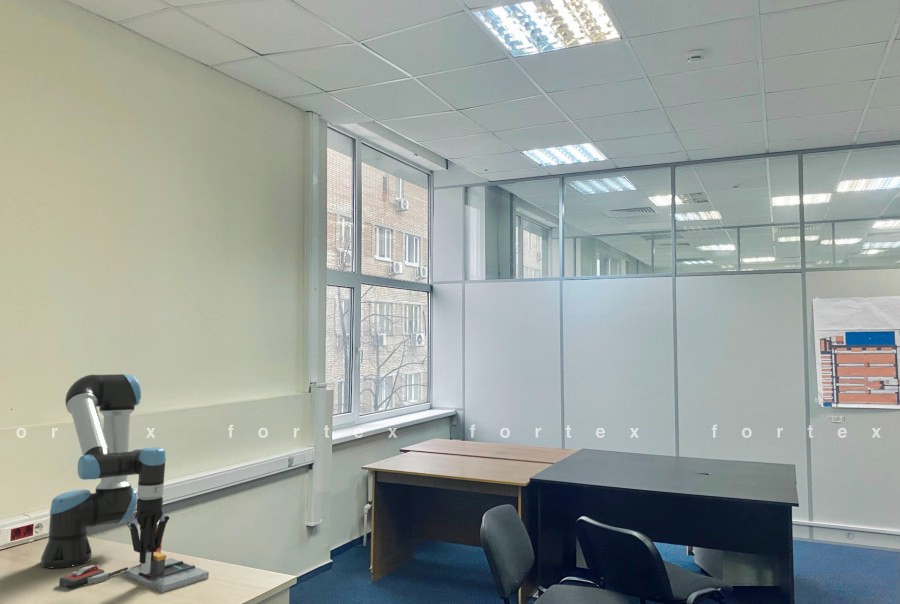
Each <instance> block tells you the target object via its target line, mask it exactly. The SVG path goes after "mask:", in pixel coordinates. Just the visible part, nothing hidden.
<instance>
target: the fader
mask: <svg viewBox="0 0 900 604" xmlns="http://www.w3.org/2000/svg"><path fill="white" fill-rule="evenodd" d="M166 559H167V554H165V553H162V552H161V553H159V552H154V554H153V561H151V565H150V574H153V575H155V576H158V575H161V574H164V571H165V560H166Z"/></svg>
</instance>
